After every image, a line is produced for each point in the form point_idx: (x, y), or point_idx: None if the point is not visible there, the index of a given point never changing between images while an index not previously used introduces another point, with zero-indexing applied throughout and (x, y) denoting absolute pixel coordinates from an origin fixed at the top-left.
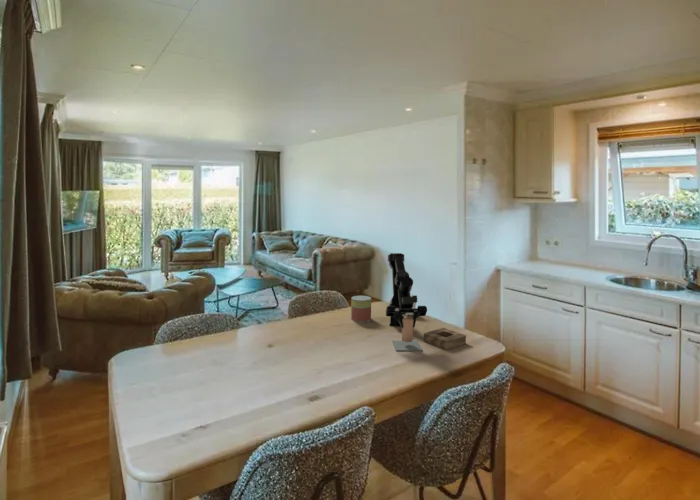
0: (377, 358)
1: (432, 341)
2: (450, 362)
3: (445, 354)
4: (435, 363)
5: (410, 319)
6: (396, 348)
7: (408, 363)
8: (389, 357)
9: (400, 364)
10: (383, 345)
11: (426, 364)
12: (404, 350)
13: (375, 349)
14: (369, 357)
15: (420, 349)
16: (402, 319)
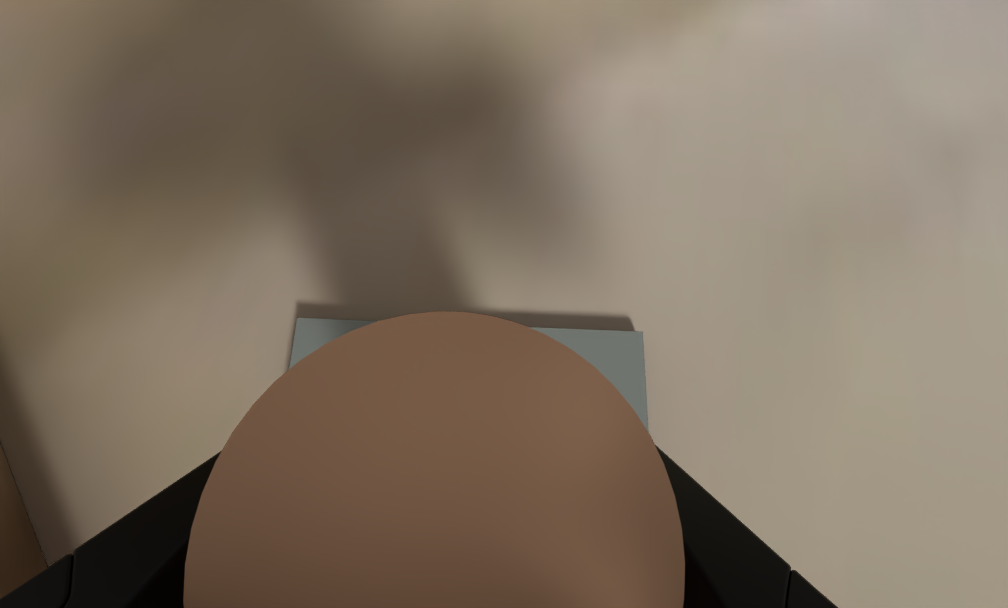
0: (850, 163)
1: (10, 578)
2: (130, 23)
3: (65, 207)
4: (292, 17)
5: (329, 517)
6: (635, 383)
7: (553, 38)
8: (727, 177)
9: (631, 27)
10: (798, 563)
11: (387, 7)
12: (536, 330)
13: (895, 414)
14: (934, 192)
15: (323, 330)
16: (680, 574)
